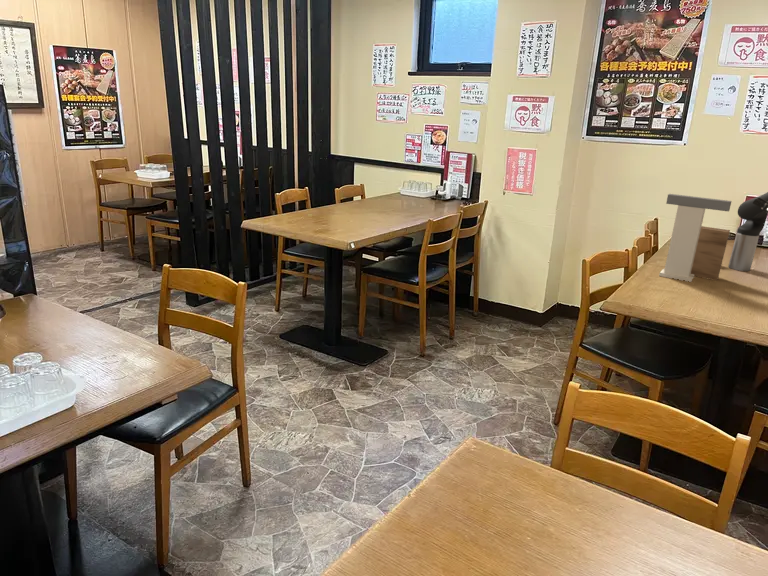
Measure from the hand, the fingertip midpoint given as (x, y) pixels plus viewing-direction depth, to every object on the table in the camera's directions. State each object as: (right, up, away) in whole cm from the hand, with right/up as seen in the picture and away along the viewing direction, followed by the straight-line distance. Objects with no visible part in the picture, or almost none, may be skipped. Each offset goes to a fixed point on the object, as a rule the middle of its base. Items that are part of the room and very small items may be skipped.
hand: (755, 200), depth 236 cm
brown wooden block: (-13, -31, +23) cm, 40 cm away
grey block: (-20, -2, +7) cm, 22 cm away
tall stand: (-24, -32, +18) cm, 44 cm away
